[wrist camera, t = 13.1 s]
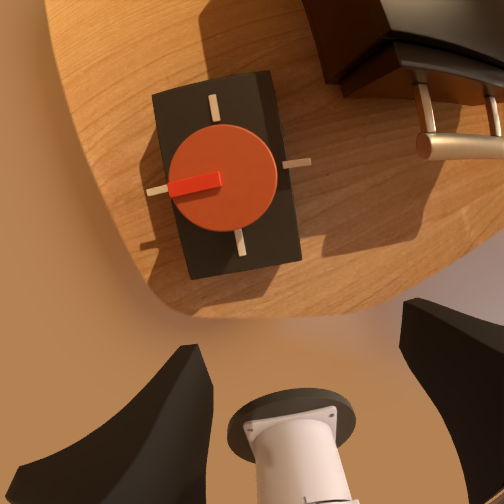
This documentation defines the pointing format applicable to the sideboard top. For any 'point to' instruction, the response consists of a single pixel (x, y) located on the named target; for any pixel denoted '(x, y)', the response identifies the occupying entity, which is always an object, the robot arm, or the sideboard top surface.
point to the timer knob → (222, 178)
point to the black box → (402, 29)
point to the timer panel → (270, 132)
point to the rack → (434, 93)
